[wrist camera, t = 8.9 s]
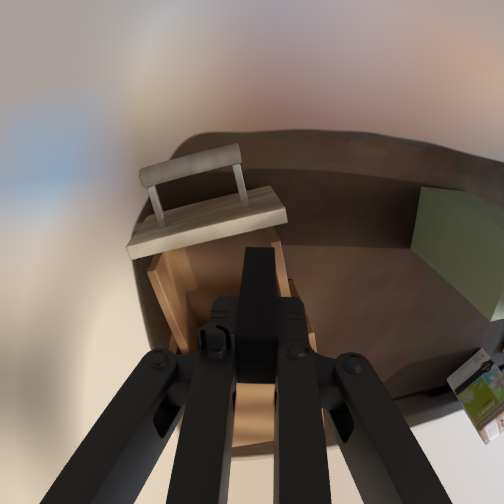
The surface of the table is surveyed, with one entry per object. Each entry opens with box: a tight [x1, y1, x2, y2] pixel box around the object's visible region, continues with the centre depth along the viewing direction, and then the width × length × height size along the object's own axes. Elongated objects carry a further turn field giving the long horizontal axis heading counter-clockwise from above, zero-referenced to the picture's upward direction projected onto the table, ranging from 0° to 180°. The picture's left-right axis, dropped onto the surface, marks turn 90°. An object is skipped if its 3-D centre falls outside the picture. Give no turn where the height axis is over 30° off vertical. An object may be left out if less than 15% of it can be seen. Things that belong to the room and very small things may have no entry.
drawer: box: [126, 143, 291, 354], centre depth 29 cm, size 21×13×8 cm, turn 12°
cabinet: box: [169, 280, 324, 447], centre depth 35 cm, size 17×14×10 cm
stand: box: [410, 187, 504, 322], centre depth 27 cm, size 8×8×16 cm
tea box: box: [447, 348, 504, 444], centre depth 43 cm, size 15×10×15 cm
